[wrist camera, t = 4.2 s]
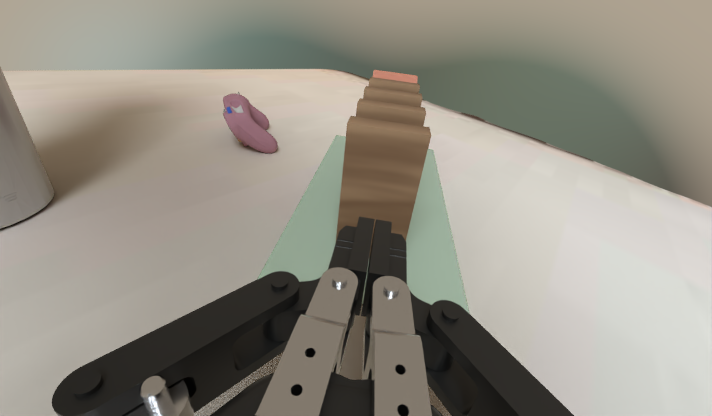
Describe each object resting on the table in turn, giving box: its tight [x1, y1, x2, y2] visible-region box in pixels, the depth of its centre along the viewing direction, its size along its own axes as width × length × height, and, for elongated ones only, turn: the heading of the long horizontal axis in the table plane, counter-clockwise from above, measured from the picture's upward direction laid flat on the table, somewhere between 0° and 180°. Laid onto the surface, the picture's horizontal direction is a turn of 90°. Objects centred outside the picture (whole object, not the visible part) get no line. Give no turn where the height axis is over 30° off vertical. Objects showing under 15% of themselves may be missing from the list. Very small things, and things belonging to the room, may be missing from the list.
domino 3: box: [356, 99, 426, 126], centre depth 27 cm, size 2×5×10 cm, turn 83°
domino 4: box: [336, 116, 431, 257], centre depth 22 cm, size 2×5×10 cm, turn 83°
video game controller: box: [223, 92, 278, 153], centre depth 41 cm, size 10×5×7 cm, turn 20°
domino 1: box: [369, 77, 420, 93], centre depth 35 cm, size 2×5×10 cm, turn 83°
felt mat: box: [257, 135, 469, 313], centre depth 34 cm, size 30×14×1 cm, turn 173°
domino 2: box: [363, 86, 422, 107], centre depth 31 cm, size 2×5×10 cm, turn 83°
